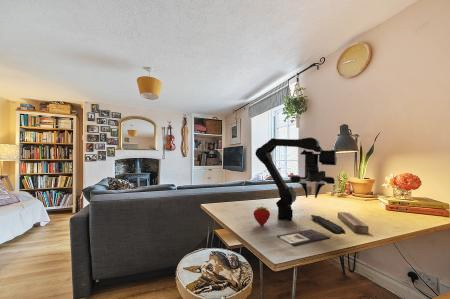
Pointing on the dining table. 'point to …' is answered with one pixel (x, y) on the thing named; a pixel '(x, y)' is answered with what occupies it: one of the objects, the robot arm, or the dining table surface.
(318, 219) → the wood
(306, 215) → the dining table surface
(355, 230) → the laid board
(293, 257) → the dining table surface
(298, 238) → the chocolate bar
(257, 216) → the strawberry
